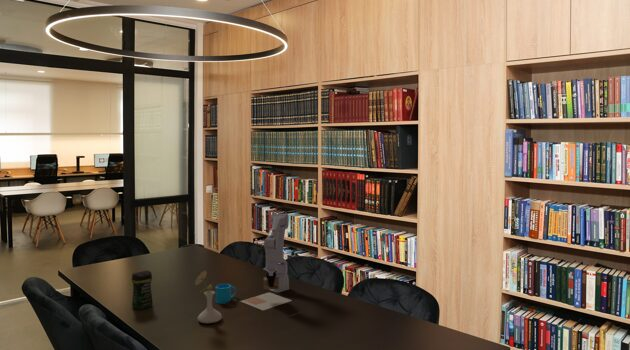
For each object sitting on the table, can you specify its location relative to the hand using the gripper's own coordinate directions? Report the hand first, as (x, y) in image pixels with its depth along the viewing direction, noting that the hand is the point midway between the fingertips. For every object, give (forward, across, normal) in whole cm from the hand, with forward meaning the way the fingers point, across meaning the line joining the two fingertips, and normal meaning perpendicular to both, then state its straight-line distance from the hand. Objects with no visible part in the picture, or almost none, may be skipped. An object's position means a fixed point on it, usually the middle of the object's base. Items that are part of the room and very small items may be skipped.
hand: (271, 285), depth 244 cm
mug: (+9, -4, -24) cm, 26 cm away
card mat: (+9, 0, -3) cm, 9 cm away
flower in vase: (+9, +24, -29) cm, 39 cm away
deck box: (+1, 0, 0) cm, 1 cm away
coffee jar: (+9, +2, -66) cm, 67 cm away
